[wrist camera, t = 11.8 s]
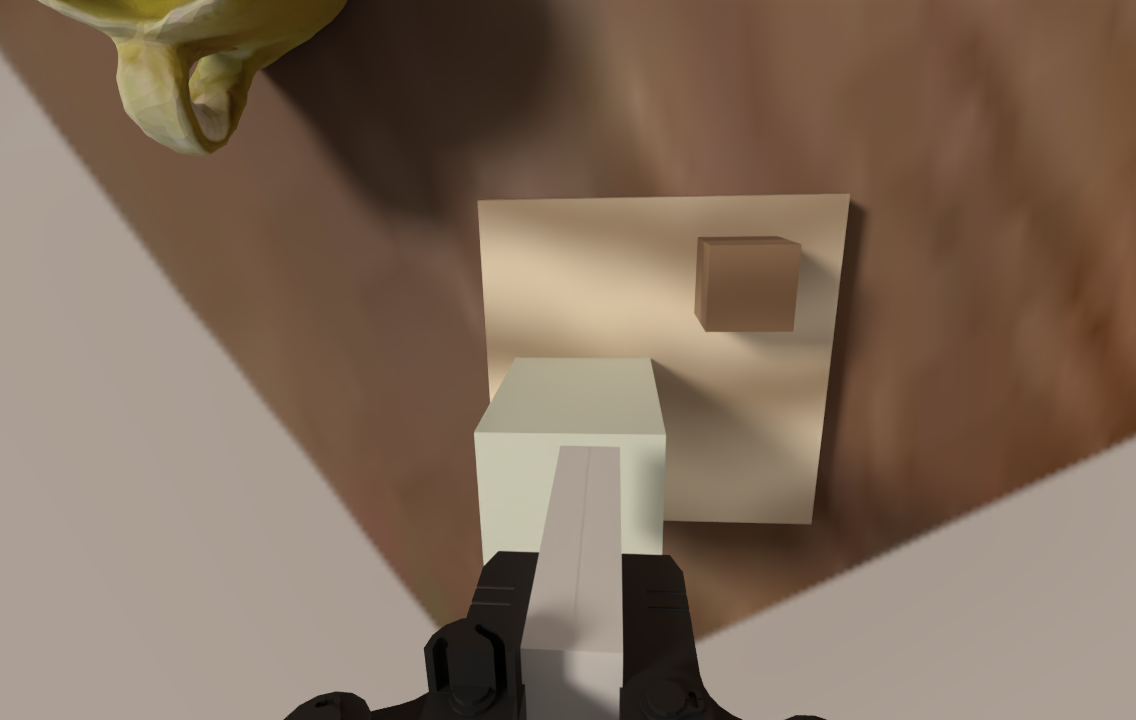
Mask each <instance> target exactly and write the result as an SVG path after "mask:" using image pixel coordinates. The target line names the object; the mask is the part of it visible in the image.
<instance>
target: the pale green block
mask: <svg viewBox="0 0 1136 720" xmlns="http://www.w3.org/2000/svg"><path fill="white" fill-rule="evenodd" d="M474 437H475V451H476V465H477V478H478V492H479V506H480V520H481V534H482V547H483V561H484V565H485V564H486V563H487V562H488V561H489V560H490V559H491V558H492V557H493V556H494V555H495V554H496V553H497V552H498V551H517V552H539V551H540V546H541V541H542V536H543V531H544V526H545V521H546V516H547V511H548V506H549V501H550V496H551V491H552V486H553V481H554V476H555V471H556V466H557V460H558V455H559V450H560V446H603V447H620V488H621V552H622V553H623V554H651V555H662V543H663V512H664V481H665V450H666V432H665V428H664V423H663V418H662V413H661V408H660V403H659V398H658V393H657V389H656V384H655V379H654V374H653V369H652V364H651V359H650V358H515V360H514V361H513V363H512V365H511V367H510V369H509V370H508V372H507V374H506V376H505V378H504V379H503V381H502V383H501V385H500V387H499V388H498V390H497V392H496V394H495V396H494V397H493V399H492V401H491V403H490V405H489V406H488V408H487V410H486V412H485V414H484V415H483V417H482V419H481V421H480V423H479V424H478V426H477V428H476V430H475V432H474Z"/></svg>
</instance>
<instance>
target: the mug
mask: <svg viewBox="0 0 1136 720" xmlns="http://www.w3.org/2000/svg"><path fill="white" fill-rule="evenodd" d="M38 1H40V2H41V3H43V4H44V5H47V6H49V7H51V8H52V9H54V10H56V11H58V12H60V13H62V14H64V15H66V16H68V17H70V18H72V19H74V20H77V21H79V22H81V23H84V24H86V25H89V26H91V27H93V28H96V29H98V30H100V31H102V32H104V33H105V34H107V35H108V36H110V37H111V38H112V39H113V41H114V43H115V44H116V47H117V50H118V70H117V77H116V79H117V83H118V88H119V92H120V95H121V99H122V102H123V106H124V109H125V111H126V113H127V114H128V115H129V116H130V117H131V118H132V119H133V120H134V121H135V122H136V123H137V124H138V125H139V126H140V127H141V129H142V130H143V131H144V133H145V134H146V135H147V136H149V137H151V138H152V139H154V140H156V141H157V142H159V143H161V144H163V145H165V146H167V147H169V148H171V149H173V150H175V151H176V152H179V153H182V154H187V155H199V156H208V155H209V154H211V153H213V152H214V151H216V150H217V149H219V148H221V147H223V146H225V145H227V142H228V140H229V138H230V136H231V135H232V133H233V132H234V131H235V130H236V129H237V125H238V123H239V120H240V117H241V115H242V112H243V110H244V108H245V106H246V102H247V93H248V90H249V88H250V86H251V83H252V79H253V76H254V75H255V73H256V72H257V71H258V70H260V69H262V68H265V67H267V66H268V65H270V64H271V63H273V62H275V61H276V60H277V59H279V58H280V57H281V56H283V55H284V54H285V53H287V52H288V51H290V50H291V49H293V48H295V47H297V46H298V45H300V44H302V43H304V42H305V41H307V40H309V39H311V38H312V37H313V36H314V35H315V34H316V33H317V32H318V31H320V30H321V29H322V28H324V27H325V26H326V25H328V24H329V23H330V22H331V21H332V20H333V19H334V18H335V17H336V16H337V15H338V14H339V13H340V11H341V10H342V9H343V8H344V6H345V4H346V2H347V0H38ZM199 59H200V60H199ZM198 60H199V63H198V65H197V68H196V70H195V72H194V73H193V75H192V77H191V79H190V81H189V69H190V68H191V67H192V65H193V64H194V62H196V61H198Z"/></svg>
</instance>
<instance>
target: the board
mask: <svg viewBox="0 0 1136 720" xmlns="http://www.w3.org/2000/svg"><path fill="white" fill-rule="evenodd" d="M849 200H850V194H843V193H824V194H769V195H713V196H658V197H602V198H547V199H491V200H478V214H479V230H480V246H481V262H482V278H483V294H484V310H485V326H486V342H487V358H488V374H489V390H490V403H491V401H492V399H493V397H494V396H495V394H496V392H497V390H498V388H499V387H500V385H501V383H502V381H503V379H504V378H505V376H506V374H507V372H508V370H509V369H510V367H511V365H512V363H513V361H514V360H515V358H650V359H651V364H652V369H653V374H654V379H655V384H656V389H657V393H658V398H659V403H660V408H661V413H662V418H663V423H664V428H665V432H666V450H665V481H664V512H663V521H700V522H740V523H781V524H811V522H812V514H813V505H814V497H815V488H816V480H817V471H818V463H819V454H820V446H821V437H822V429H823V420H824V412H825V404H826V395H827V387H828V378H829V370H830V361H831V353H832V344H833V336H834V327H835V319H836V310H837V302H838V293H839V285H840V276H841V268H842V260H843V251H844V243H845V234H846V226H847V217H848V209H849Z"/></svg>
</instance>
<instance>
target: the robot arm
mask: <svg viewBox="0 0 1136 720" xmlns="http://www.w3.org/2000/svg"><path fill="white" fill-rule="evenodd" d="M424 654H425V662H426V671H427V679H428V687H429V692H428V693H426V694H424V695H422V696H420V697H419V698H417V699H415V700H412V701H409V702H406V703H403V704H400V705H396V706H392V707H388V708H383V709H379V710H375V711H370V710H369V707H368V706H367V704H366V702H365V700H364V699H362V698H360V697H358V696H357V695H355V694H353V693H347V692H332V693H328V694H323V695H319V696H317V697H315V698H313V699H311V700H309V701H307V702H305V703H303V704H301V705H299V706H298V707H297V708H296V709H295V710H294V711H293V712H292V713H290V714H289V715H288V716H287V717H286V718H285V719H284V720H742V719H740V718H738V717H735V716H733V715H732V714H730V713H729V712H727V711H726V710H724V709H723V708H721V707H720V706H719V705H718V704H717V703H716V702H715V701H714V700H713V699H712V698H711V697H710V696H709V694H708V692H707V690H706V689H705V688H704V685H703V683H702V679H701V676H700V672H699V666H698V660H697V654H696V648H695V642H694V636H693V630H692V624H691V618H690V612H689V606H688V600H687V596H686V588H685V582H684V576H683V572H682V570H681V569H680V568H679V567H678V565H677V564H676V563H675V561H674V560H673V559H672V557H671V556H670V555H651V554H623V553H622V552H621V488H620V447H603V446H560V450H559V455H558V460H557V466H556V471H555V476H554V481H553V486H552V491H551V496H550V501H549V506H548V511H547V516H546V521H545V526H544V531H543V536H542V541H541V546H540V551H539V552H517V551H498V552H497V553H496V554H495V555H494V556H493V557H492V558H491V559H490V560H489V561H488V562H487V563H486V564H485V565H484V567H483V569H482V572H481V575H480V578H479V581H478V584H477V589H476V590H475V593H474V596H473V599H472V605H470V608H469V611H468V615H467V618H464V619H460V620H457V621H455V622H452V623H450V624H447V625H445V626H444V627H442V628H441V629H440V630H439V631H437V632H436V633H435V634H433V635H432V637H431V638H430V640H429V641H428V643H427V644H426V646H425V647H424ZM786 720H826V719H823V718H820V717H817V716H806V715H796V716H793V717H791V718H788V719H786Z"/></svg>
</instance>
